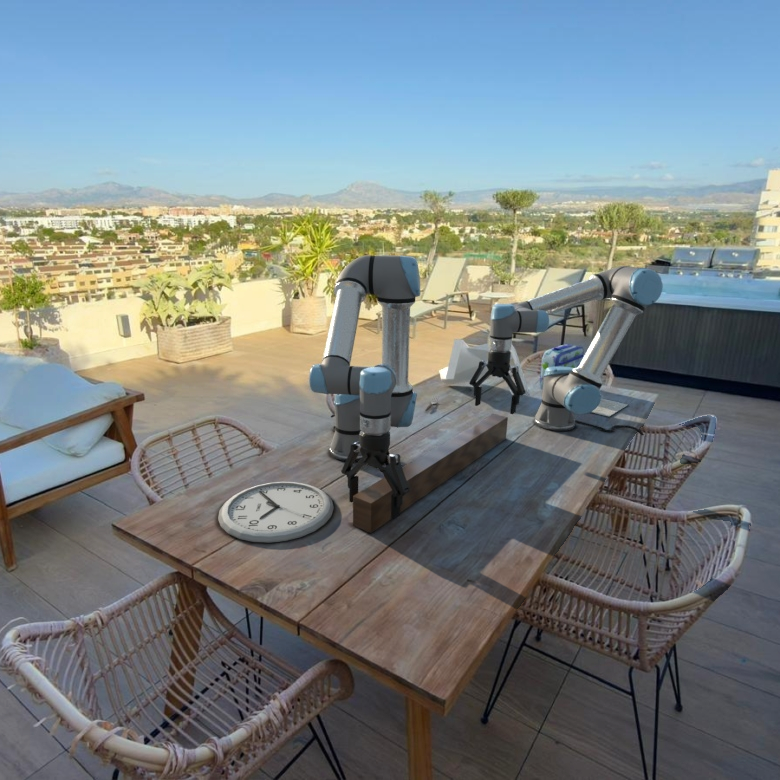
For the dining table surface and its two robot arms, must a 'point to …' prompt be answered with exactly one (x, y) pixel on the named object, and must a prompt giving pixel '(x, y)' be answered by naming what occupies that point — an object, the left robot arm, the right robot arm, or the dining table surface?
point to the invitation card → (608, 407)
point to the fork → (432, 403)
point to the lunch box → (561, 358)
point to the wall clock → (275, 512)
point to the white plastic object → (472, 363)
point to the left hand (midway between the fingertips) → (374, 508)
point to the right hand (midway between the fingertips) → (494, 408)
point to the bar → (428, 471)
